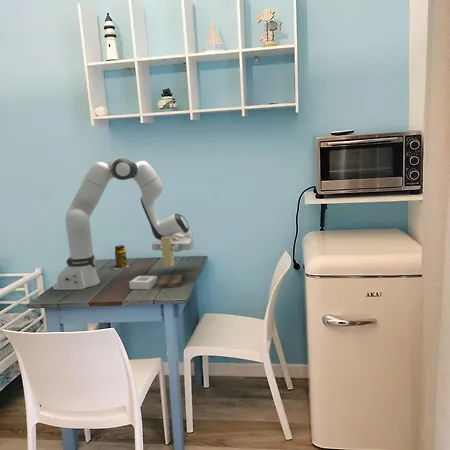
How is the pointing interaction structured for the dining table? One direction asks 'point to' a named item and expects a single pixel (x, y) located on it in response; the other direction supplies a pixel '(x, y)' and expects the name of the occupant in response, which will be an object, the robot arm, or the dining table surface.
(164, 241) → the peg
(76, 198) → the robot arm
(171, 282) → the board
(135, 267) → the dining table surface
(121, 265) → the condiment
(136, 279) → the socket block
